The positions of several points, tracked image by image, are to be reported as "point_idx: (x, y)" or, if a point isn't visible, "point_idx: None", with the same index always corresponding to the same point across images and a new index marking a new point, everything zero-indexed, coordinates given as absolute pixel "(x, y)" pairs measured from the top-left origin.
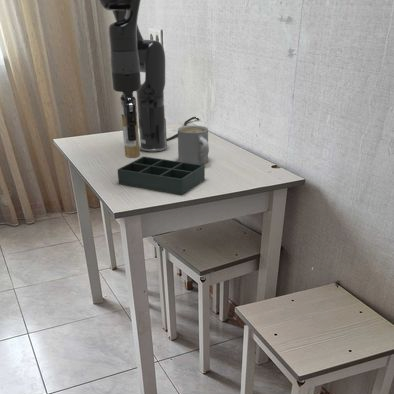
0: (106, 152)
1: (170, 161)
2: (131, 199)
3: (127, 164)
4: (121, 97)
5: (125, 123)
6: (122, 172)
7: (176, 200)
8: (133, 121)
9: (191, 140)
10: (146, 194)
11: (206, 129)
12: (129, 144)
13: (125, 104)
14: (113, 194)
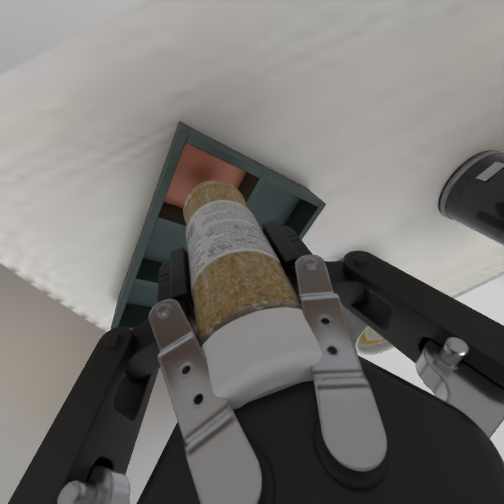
0: None
1: None
2: (30, 189)
3: (244, 164)
4: (361, 473)
5: (199, 295)
6: (172, 151)
7: (74, 297)
8: (127, 379)
9: (347, 322)
10: (96, 225)
11: (383, 347)
12: (186, 235)
13: (156, 491)
14: (57, 114)
